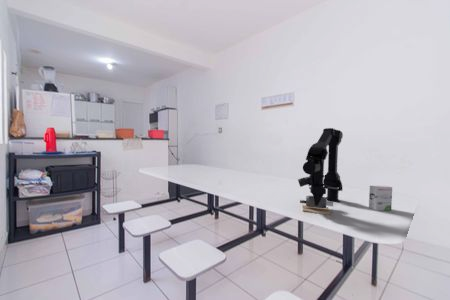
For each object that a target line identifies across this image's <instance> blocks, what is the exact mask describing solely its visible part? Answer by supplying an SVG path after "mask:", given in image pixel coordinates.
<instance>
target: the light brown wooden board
mask: <svg viewBox="0 0 450 300" xmlns="http://www.w3.org/2000/svg"><path fill="white" fill-rule="evenodd" d="M301 208H302V212H303V213H312V214H318V215H319V214H321V215H329V216H331V214H332V213H331V211H330V208H329V206H326V208H316V207H308V206H306V204H302V205H301Z"/></svg>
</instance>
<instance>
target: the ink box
mask: <svg viewBox="0 0 450 300" xmlns="http://www.w3.org/2000/svg"><path fill="white" fill-rule="evenodd" d="M368 195H369V198H368V208H369V209H370V210H373V211H375V212H377V211H378V212H379V211H392V205H393V204H392V203H393V202H392V201H393V200H392V199H393V187H392V186H389V185H369V194H368Z"/></svg>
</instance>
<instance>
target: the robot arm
mask: <svg viewBox="0 0 450 300" xmlns="http://www.w3.org/2000/svg"><path fill="white" fill-rule="evenodd" d="M343 135H344V134H343V132H342V131H341V130H339V129H335V128H333V127H332V128H331V127H326V128H323V130H322V134H321V136H320V137H319V139H318V141H317V142H315V143H313V144H312V145H311V146H310V147H309V148H308V150H307V151H308V152H307V154H306V157H305V160H306V162H304V163H303V166H302V170H303V172H304V173H305V174H307V175H309V176H305V177H301V178H298V179H297V182H298V184H299V187H304V186H308V187H309V190H310V191H309V192H310V194H312V196H314V202H315V206H318V204H319V202H320V200H321V198H322V197H324V195H326V197H325V198H326V201H330V202H340V199H339V192H343V183H342V180H341V176H340V174H339V172H338V154H339V153H338V152H339V146H340V144H341V142H342V139H343ZM327 147H328V149H327ZM327 157H328V160H327V166H328V167H327V172H326V173H325V174H324V170H325V166H324V165H325V161H326V159H327Z"/></svg>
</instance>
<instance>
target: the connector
mask: <svg viewBox="0 0 450 300" xmlns="http://www.w3.org/2000/svg"><path fill="white" fill-rule="evenodd" d="M299 203H300V204H304V205H306V206H308V207H316V208H326V207H334V201H328V200H327V199H326V197H325V196H322V198H321V200H320V202H319V204H318V206H315V202H314V196H313V195H306V197H305V200H303V199H300V200H299Z"/></svg>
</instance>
